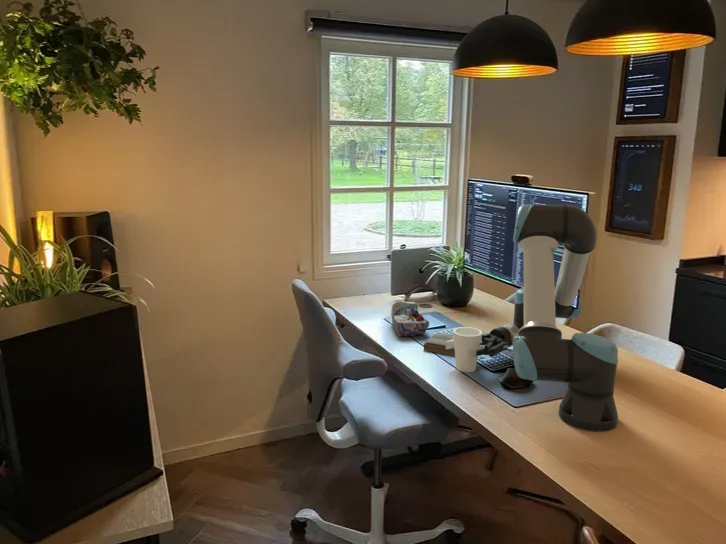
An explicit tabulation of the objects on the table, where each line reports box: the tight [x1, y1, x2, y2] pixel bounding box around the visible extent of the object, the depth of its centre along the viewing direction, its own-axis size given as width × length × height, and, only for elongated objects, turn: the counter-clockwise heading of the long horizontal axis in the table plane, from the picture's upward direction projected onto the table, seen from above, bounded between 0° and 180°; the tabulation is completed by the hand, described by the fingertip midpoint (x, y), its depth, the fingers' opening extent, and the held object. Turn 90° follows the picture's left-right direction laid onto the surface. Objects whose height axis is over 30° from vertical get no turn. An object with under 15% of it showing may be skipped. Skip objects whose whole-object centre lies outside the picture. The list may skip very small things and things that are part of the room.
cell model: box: [390, 300, 430, 337], centre depth 228 cm, size 13×11×20 cm
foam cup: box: [452, 326, 483, 373], centre depth 190 cm, size 10×9×13 cm
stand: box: [423, 331, 455, 356], centre depth 211 cm, size 13×13×3 cm
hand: (456, 349), depth 188 cm, fingers closed on foam cup, 9 cm apart
